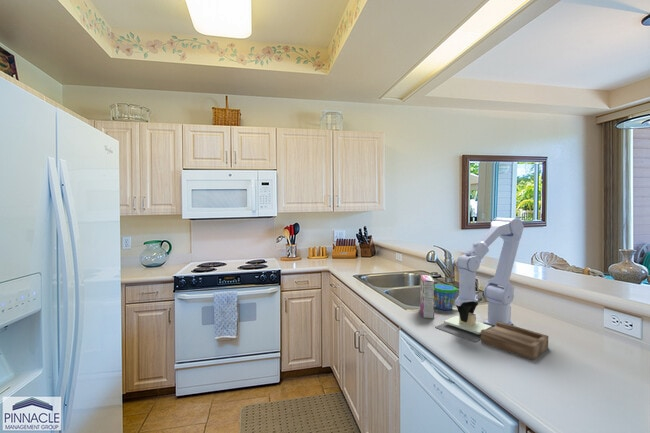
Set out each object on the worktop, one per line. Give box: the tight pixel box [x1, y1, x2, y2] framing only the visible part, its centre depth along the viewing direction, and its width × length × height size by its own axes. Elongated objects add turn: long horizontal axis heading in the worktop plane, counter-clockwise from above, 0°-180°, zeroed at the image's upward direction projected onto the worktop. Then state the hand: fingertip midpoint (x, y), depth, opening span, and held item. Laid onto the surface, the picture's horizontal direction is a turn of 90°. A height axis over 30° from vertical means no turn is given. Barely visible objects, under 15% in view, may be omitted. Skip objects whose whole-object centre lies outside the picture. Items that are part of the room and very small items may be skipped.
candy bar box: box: [419, 274, 436, 319], centre depth 134 cm, size 11×5×16 cm, turn 168°
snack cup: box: [434, 283, 459, 311], centre depth 143 cm, size 16×10×10 cm
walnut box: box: [480, 321, 549, 361], centre depth 105 cm, size 14×16×4 cm
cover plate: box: [443, 313, 493, 335], centre depth 118 cm, size 10×14×5 cm
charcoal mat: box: [434, 322, 481, 343], centre depth 118 cm, size 18×16×1 cm
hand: (466, 320), depth 118 cm, fingers closed on cover plate, 3 cm apart
